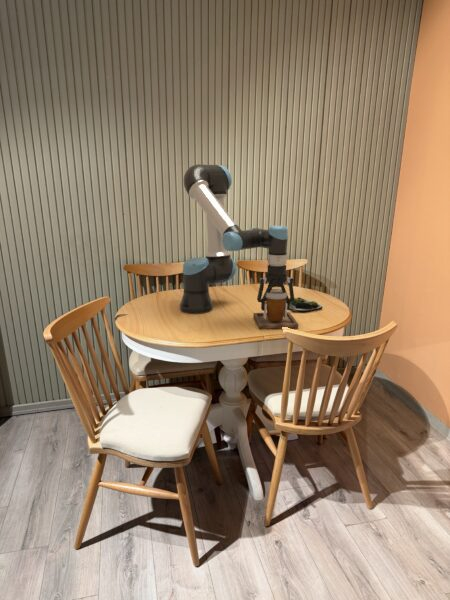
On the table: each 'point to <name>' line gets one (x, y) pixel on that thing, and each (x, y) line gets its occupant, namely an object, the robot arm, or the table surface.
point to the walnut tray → (275, 322)
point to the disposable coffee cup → (275, 304)
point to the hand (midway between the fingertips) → (275, 317)
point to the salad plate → (304, 305)
